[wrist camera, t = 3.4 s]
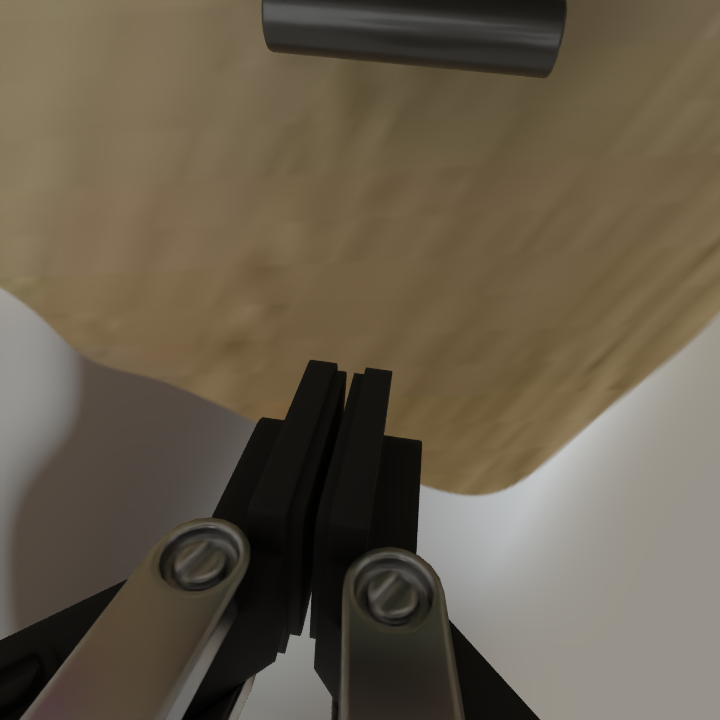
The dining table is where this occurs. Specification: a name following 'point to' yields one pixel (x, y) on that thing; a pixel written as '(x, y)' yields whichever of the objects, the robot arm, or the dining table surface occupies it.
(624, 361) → the dining table surface
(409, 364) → the dining table surface
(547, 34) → the drawer
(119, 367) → the dining table surface
